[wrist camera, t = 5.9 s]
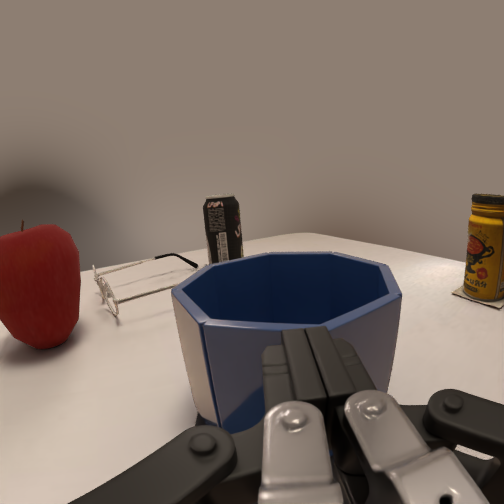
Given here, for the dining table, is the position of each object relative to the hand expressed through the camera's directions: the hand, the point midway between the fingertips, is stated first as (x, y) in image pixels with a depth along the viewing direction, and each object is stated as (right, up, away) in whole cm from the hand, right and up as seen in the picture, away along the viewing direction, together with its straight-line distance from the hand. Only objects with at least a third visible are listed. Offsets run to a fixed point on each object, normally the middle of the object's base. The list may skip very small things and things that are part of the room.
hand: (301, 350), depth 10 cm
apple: (-24, -6, +17) cm, 30 cm away
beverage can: (-6, +1, +40) cm, 40 cm away
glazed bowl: (+1, -6, +8) cm, 10 cm away
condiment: (+28, -2, +19) cm, 33 cm away
